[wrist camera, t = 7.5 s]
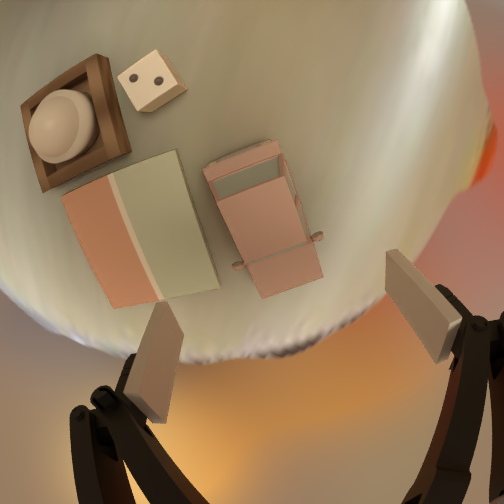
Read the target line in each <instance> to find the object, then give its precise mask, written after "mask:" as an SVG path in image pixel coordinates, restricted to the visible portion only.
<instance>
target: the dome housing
mask: <svg viewBox="0 0 504 504" xmlns="http://www.w3.org/2000/svg"><path fill="white" fill-rule="evenodd" d="M57 90H75V91H83V92H86V93H88V94H90V95H91V96H92V99H93V104H94V108H95V112H96V116H97V120H98V124H99V127H100V128H99V132H98V135H97V137H96V139H95V141H94V143H93V145H92V146H91V147H90V148H89V149H88V150H87V151H86V152H85V153H84V154H82V155H80V156H78V157H75V158H72V159H69V160H66V161H63V162H60V163H48V162H46V161H44V160H43V159H41V158H40V157H39V156H38V154H37V153H36V151H35V149H34V148H33V146H32V145H31V142H30V139H29V124H30V121H31V118H32V116H33V114H34V112H35V111H36V109H37V107H38V106H39V104H40V103H41V101H42V100H43V99H44V98H45V97H46V96H47V95H49V94H50V93H52V92H54V91H57ZM21 112H22V117H23V122H24V127H25V132H26V136H27V141H28V145H29V149H30V153H31V156H32V160H33V163H34V167H35V170H36V174H37V177H38V180H39V183H40V186H41V189H42V192H43V193H44V192H46V191H48V190H50V189H52V188H54V187H56V186H58V185H60V184H62V183H64V182H66V181H67V180H69V179H71V178H73V177H75V176H77V175H79V174H81V173H83V172H85V171H87V170H90V169H92V168H94V167H96V166H98V165H100V164H102V163H105V162H107V161H109V160H112V159H114V158H116V157H119V156H121V155H123V154H126V153H128V152H131V151H132V150H131V147H130V143H129V140H128V136H127V133H126V129H125V126H124V122H123V118H122V115H121V111H120V107H119V103H118V99H117V95H116V91H115V86H114V82H113V78H112V73H111V69H110V64H109V59H108V58H107V57H104V56H102V55H99V54H94V55H92V56H91V57H89V58H87V59H85V60H84V61H82V62H80V63H79V64H77V65H76V66H74V67H72V68H71V69H69V70H68V71H66V72H65V73H63V74H62V75H60V76H59V77H57V78H56V79H54V80H53V81H51V82H50V83H49V84H47V85H46V86H44V87H43V88H42V89H40V90H39V91H38V92H37V93H35V94H34V95H33V96H31V97H30V98H29V99H28V100H26V101H25V102H24V103H23V104H22V105H21Z"/></svg>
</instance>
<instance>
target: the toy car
mask: <svg viewBox="0 0 504 504" xmlns="http://www.w3.org/2000/svg"><path fill="white" fill-rule="evenodd" d="M202 171H203V173H204V175H205V177H206V179H207V181H208V184H209V186H210V190H211V192H212V194H213V196H214V198H215V201H216V203H217V205H218V207H219V209H220V212H221V214H222V216H223V218H224V220H225V222H226V225H227V227H228V229H229V231H230V233H231V235H232V237H233V240H234V242H235V244H236V246H237V248H238V250H239V252H240V255H241V257H242V259H243V261H244V262H243V261H238V262H235V263H233V264H232V267H233V268H234V269H235V270H240V269H243V268H244V266H247V268H248V270H249V272H250V274H251V276H252V279H253V281H254V283H255V285H256V287H257V289H258V291H259V293H260V296H261V298H262V299H263V298H266V297H269V296H272V295H275V294H278V293H280V292H283V291H286V290H289V289H292V288H294V287H297V286H300V285H303V284H306V283H308V282H311V281H314V280H316V279H319V278H322V277H323V274H322V271H321V267H320V264H319V260H318V257H317V254H316V251H315V247H314V244H313V241H315V242H317V241H320V240H321V239H322V238H323V232H321V231H319V232H316V233H314V234H313V235H312V236H311V235H310V232H309V228H308V225H307V222H306V219H305V216H304V213H303V210H302V207H301V202H300V199H299V198H298V196H297V193H296V190H295V187H294V184H293V181H292V179H291V176H290V173H289V170H288V168H287V163H286V160H285V159H284V157H283V154H282V152H281V149H280V146H279V144H278V141H277V140H274V141H271V140H270V139H268V140H265V141H263V142H260V143H257V144H255V145H252V146H249V147H247V148H244V149H242V150H239V151H237V152H234V153H232V154H229V155H227V156H224V157H222V158H220V159H217V160H215V161H213V162H210V164H209V165H208V167H206V168H203V169H202Z"/></svg>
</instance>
